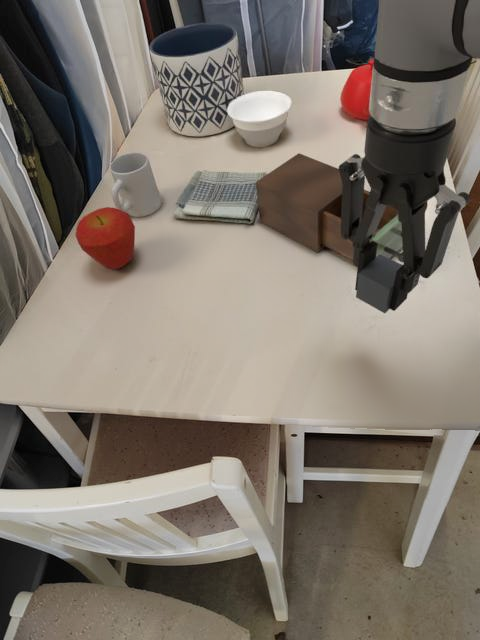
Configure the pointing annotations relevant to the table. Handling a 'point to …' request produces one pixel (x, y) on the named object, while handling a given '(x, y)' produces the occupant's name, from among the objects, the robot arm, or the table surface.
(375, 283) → the block
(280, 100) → the bowl
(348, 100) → the teapot
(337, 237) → the drawer
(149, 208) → the mug
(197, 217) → the dish towel
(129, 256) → the apple
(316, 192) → the cabinet
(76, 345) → the table surface
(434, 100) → the robot arm
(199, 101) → the planter
